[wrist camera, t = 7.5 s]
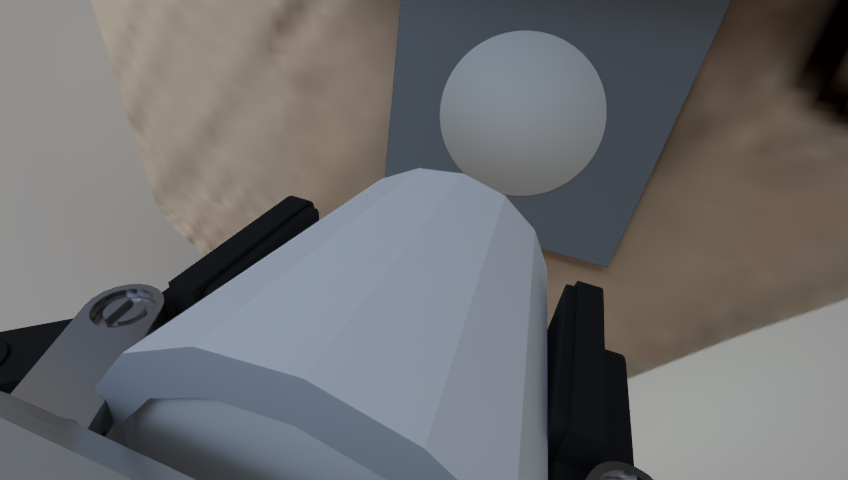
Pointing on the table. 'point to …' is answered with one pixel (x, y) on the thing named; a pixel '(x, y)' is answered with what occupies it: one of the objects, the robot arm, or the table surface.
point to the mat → (548, 103)
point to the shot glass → (358, 350)
